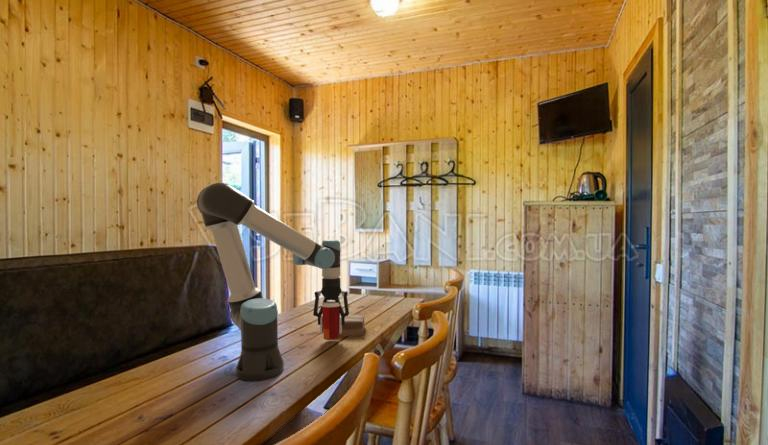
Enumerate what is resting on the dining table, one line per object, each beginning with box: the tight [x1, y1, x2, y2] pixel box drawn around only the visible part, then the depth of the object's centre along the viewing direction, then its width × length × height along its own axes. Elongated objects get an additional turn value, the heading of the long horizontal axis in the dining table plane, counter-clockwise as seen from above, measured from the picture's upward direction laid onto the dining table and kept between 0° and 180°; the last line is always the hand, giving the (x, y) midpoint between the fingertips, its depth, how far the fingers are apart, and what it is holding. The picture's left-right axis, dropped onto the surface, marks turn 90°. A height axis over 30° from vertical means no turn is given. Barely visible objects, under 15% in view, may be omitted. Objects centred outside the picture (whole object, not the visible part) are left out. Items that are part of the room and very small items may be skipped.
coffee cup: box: [320, 300, 342, 341], centre depth 151 cm, size 8×8×15 cm
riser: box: [338, 314, 365, 337], centre depth 164 cm, size 12×12×6 cm
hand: (331, 332), depth 151 cm, fingers closed on coffee cup, 7 cm apart
